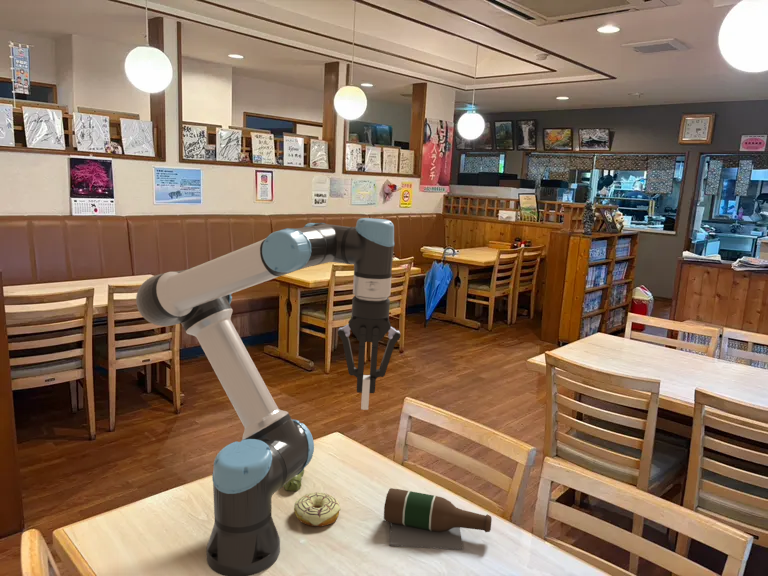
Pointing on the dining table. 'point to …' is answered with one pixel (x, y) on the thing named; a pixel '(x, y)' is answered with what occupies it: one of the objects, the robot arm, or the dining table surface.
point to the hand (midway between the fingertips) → (364, 406)
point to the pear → (294, 483)
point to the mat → (425, 538)
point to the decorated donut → (317, 509)
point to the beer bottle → (430, 512)
